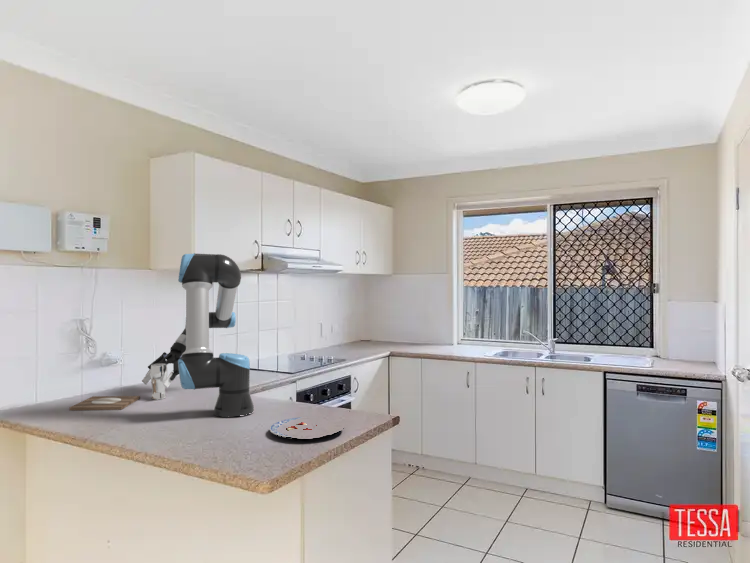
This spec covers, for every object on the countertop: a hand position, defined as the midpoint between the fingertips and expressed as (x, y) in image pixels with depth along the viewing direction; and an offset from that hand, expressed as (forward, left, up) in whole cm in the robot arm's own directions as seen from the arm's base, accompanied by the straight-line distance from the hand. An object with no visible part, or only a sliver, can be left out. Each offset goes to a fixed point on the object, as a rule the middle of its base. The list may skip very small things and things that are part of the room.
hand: (154, 384), depth 222 cm
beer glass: (+2, -1, -7) cm, 7 cm away
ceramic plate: (-54, -69, -7) cm, 88 cm away
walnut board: (-8, +17, -7) cm, 20 cm away
